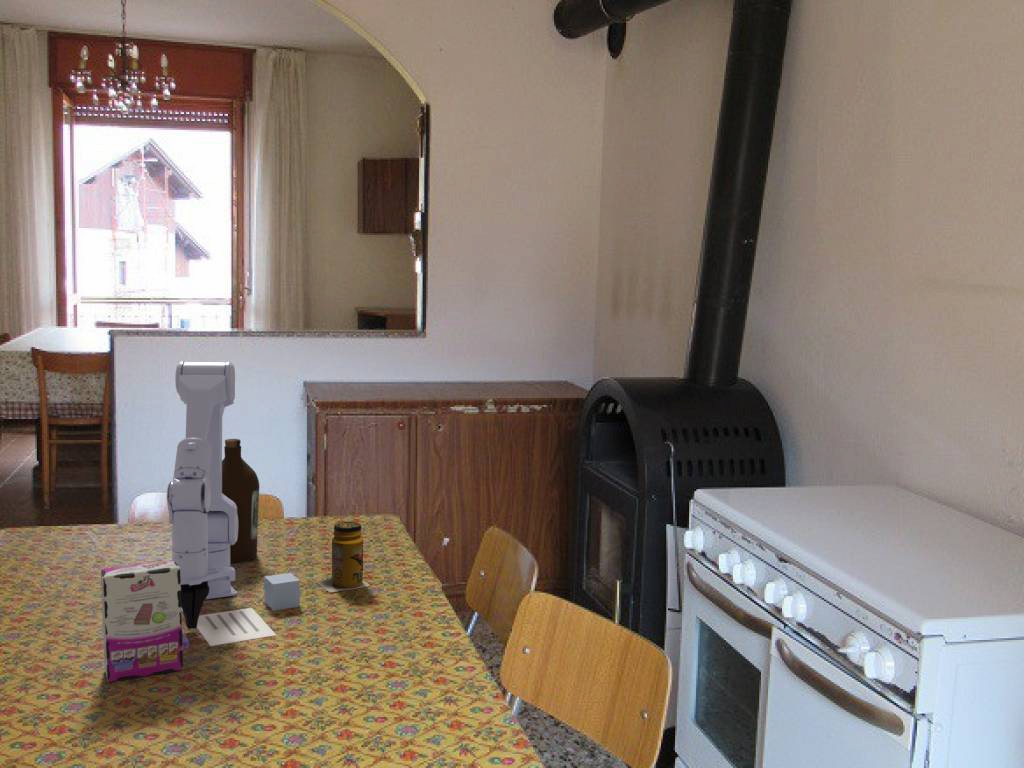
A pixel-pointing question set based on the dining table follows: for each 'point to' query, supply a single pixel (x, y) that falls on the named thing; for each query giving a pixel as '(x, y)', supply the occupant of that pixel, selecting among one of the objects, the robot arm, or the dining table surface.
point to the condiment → (346, 558)
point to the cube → (282, 591)
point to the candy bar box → (142, 620)
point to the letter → (233, 627)
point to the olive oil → (241, 500)
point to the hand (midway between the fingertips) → (191, 626)
